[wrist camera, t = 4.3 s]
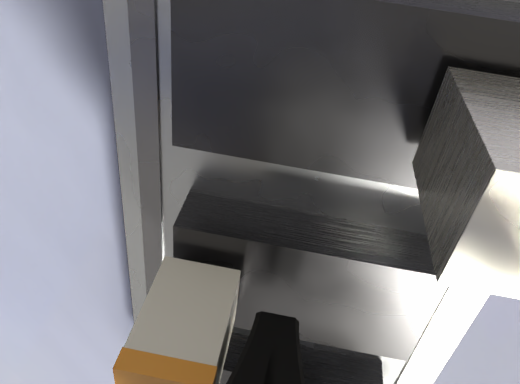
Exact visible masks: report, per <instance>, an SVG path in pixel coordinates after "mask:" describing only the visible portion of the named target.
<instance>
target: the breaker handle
mask: <svg viewBox="0 0 520 384" xmlns="http://www.w3.org/2000/svg"><path fill="white" fill-rule="evenodd" d="M240 274H241V270H236V269H230V268H225V267H220V266H215V265H210V264H204V263H199V262H194V261H189V260H183V259H178V258H173V257H168V256H165V257H164V259H163V261H162V263H161V266H160V268H159V270H158V272H157V275H156V277H155V279H154V281H153V283H152V286H151V288H150V290H149V292H148V295H147V297H146V299H145V301H144V303H143V306H142V308H141V310H140V312H139V314H138V317H137V319H136V321H135V323H134V326H133V328H132V330H131V332H130V334H129V337H128V339H127V341H126V343H125V345H124V347H122V349H121V351H120V354H119V356H118V358H117V360H116V362H115V365H114V367H113V373H114V380H115V384H219V383H220V379H221V375H222V371H223V367H224V363H225V359H226V354H227V350H228V346H229V342H230V338H231V334H232V329H233V325H234V321H235V315H236V307H237V299H238V290H239V282H240Z"/></svg>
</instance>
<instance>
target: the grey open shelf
mask: <svg viewBox="0 0 520 384" xmlns="http://www.w3.org/2000/svg"><path fill="white" fill-rule="evenodd" d="M102 1H103V11H104V21H105V32H106V42H107V52H108V62H109V72H110V83H111V93H112V103H113V113H114V123H115V134H116V144H117V154H118V164H119V175H120V185H121V195H122V205H123V215H124V226H125V236H126V246H127V256H128V266H129V277H130V287H131V297H132V307H133V317H134V323H135V321H136V319H137V317H138V314H139V312H140V310H141V308H142V306H143V303H144V301H145V299H146V297H147V295H148V292H149V290H150V288H151V286H152V283H153V281H154V279H155V277H156V275H157V272H158V270H159V268H160V266H161V263H162V261H163V259H164V257H165V256H168V257H173V258H178V259H183V260H189V261H194V262H199V263H204V264H210V265H215V266H220V267H225V268H230V269H236V270H241V274H240V282H239V290H238V299H237V307H236V315H235V321H234V325H233V329H232V334H231V338H230V342H229V346H228V350H227V354H226V359H225V363H224V367H223V371H222V375H221V379H220V383H219V384H226V383H227V381H228V379H229V377H230V375H231V373H232V371H233V370H234V368H235V366H236V364H237V362H238V360H239V357H240V355H241V353H242V351H243V349H244V347H245V344H246V342H247V339H248V337H249V334H250V332H251V329H252V326H253V323H254V319H255V315H256V313H257V312H260V311H264V312H269V313H274V314H279V315H284V316H289V317H294V318H296V319H297V320H298V321H299V338H300V351H301V359H302V366H303V373H304V380H305V384H433V382H434V381H435V379H436V378H437V376H438V375H439V373H440V371H441V370H442V368H443V367H444V365H445V364H446V362H447V360H448V359H449V357H450V356H451V354H452V353H453V351H454V349H455V348H456V346H457V345H458V343H459V342H460V340H461V338H462V337H463V335H464V334H465V332H466V331H467V329H468V327H469V326H470V324H471V323H472V321H473V320H474V318H475V316H476V315H477V313H478V312H479V310H480V309H481V307H482V305H483V304H484V302H485V301H486V299H487V298H488V296H489V294H494V295H500V296H505V297H510V298H516V299H520V0H102Z"/></svg>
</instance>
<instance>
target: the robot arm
mask: <svg viewBox="0 0 520 384" xmlns="http://www.w3.org/2000/svg"><path fill="white" fill-rule="evenodd" d="M226 384H305V380H304V373H303V366H302V359H301V351H300V338H299V321H298V320H297V319H296V318H294V317H289V316H284V315H279V314H274V313H269V312H264V311H260V312H257V313H256V315H255V319H254V323H253V326H252V329H251V332H250V334H249V337H248V339H247V342H246V344H245V347H244V349H243V351H242V353H241V355H240V357H239V360H238V362H237V364H236V366H235V368H234V370H233V371H232V373H231V375H230V377H229V379H228V381H227V383H226Z"/></svg>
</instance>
